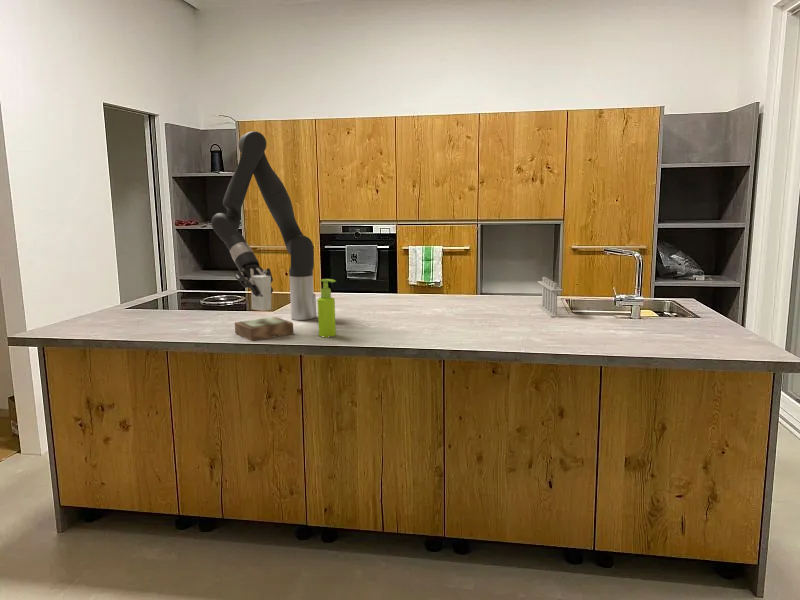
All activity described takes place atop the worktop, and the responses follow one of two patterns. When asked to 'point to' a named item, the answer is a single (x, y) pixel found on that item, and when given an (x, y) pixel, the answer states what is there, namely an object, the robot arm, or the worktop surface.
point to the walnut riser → (263, 328)
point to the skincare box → (262, 293)
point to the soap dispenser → (326, 311)
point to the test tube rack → (549, 297)
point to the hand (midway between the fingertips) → (264, 293)
